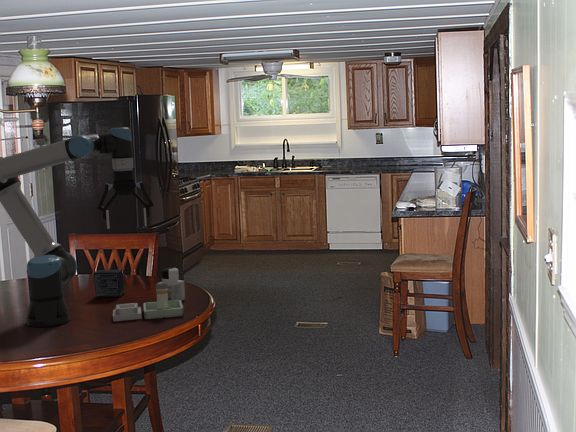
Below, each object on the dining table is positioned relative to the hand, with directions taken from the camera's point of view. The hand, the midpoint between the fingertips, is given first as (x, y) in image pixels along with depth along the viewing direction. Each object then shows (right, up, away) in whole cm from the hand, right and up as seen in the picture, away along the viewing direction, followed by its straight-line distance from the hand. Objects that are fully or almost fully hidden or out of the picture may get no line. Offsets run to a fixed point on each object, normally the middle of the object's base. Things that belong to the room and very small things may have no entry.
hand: (127, 227), depth 287 cm
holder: (+1, -33, -5) cm, 33 cm away
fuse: (+14, -31, -2) cm, 34 cm away
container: (+14, -29, +17) cm, 37 cm away
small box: (-13, -29, +31) cm, 44 cm away
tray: (+14, -32, -2) cm, 34 cm away
